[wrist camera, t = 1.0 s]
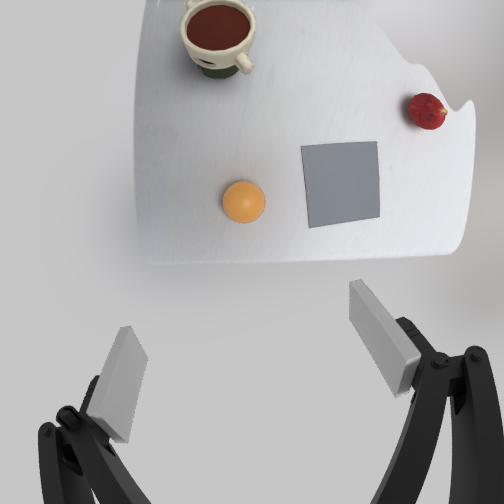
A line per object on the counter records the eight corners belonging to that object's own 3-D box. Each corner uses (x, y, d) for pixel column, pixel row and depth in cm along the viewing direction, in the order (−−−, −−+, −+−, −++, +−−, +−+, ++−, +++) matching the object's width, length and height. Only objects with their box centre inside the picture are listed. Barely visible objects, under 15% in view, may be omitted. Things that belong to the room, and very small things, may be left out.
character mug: (175, 48, 29) (153, 11, 17) (218, 20, 28) (216, -25, 16) (222, 102, 33) (220, 84, 21) (265, 74, 32) (285, 45, 20)
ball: (219, 181, 37) (218, 189, 32) (259, 175, 37) (264, 181, 32) (226, 219, 39) (226, 232, 34) (264, 213, 39) (270, 225, 34)
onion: (407, 133, 36) (439, 136, 29) (393, 100, 34) (425, 97, 26) (430, 122, 35) (462, 124, 28) (417, 90, 33) (449, 87, 26)
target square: (300, 146, 36) (301, 146, 36) (376, 141, 36) (376, 141, 36) (309, 227, 41) (309, 228, 41) (379, 216, 41) (379, 217, 41)
